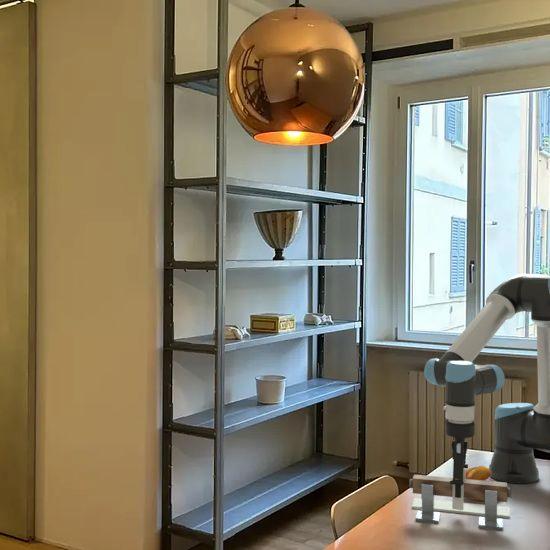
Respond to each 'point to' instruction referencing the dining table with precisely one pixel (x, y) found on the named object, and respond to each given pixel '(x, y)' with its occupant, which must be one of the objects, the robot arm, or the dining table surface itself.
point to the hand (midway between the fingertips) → (459, 500)
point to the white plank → (467, 508)
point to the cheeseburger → (479, 474)
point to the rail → (471, 487)
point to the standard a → (427, 506)
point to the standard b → (490, 512)
